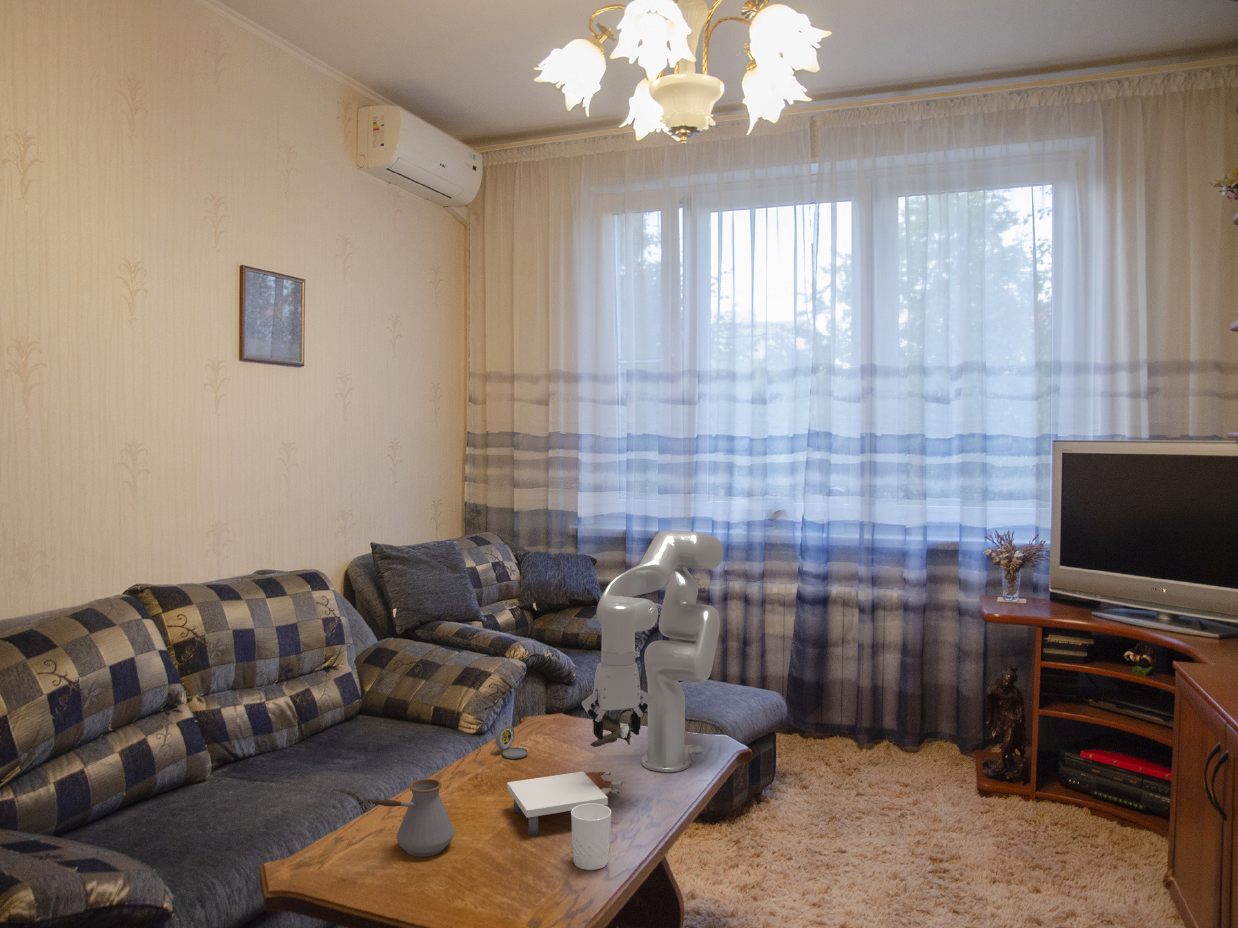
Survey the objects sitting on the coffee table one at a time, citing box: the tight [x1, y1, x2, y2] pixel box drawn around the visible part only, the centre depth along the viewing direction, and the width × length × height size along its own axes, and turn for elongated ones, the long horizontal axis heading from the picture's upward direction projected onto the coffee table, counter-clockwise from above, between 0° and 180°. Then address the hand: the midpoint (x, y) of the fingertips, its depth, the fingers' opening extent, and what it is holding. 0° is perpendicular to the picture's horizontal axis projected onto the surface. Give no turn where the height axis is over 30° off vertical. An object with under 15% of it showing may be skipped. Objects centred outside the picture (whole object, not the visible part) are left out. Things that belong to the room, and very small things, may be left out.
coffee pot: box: [362, 778, 455, 857], centre depth 169 cm, size 21×12×15 cm, turn 148°
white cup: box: [570, 803, 612, 871], centre depth 167 cm, size 8×8×10 cm
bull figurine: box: [585, 770, 623, 797], centre depth 200 cm, size 4×13×8 cm
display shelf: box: [506, 771, 609, 837], centre depth 188 cm, size 18×16×6 cm
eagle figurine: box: [590, 713, 633, 748], centre depth 192 cm, size 8×7×9 cm
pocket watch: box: [495, 714, 529, 760], centre depth 226 cm, size 8×8×10 cm
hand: (616, 735), depth 193 cm, fingers closed on eagle figurine, 8 cm apart
